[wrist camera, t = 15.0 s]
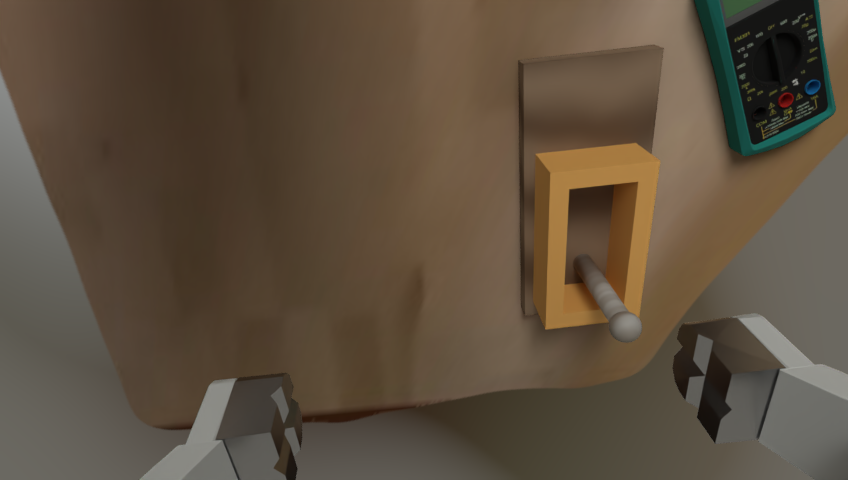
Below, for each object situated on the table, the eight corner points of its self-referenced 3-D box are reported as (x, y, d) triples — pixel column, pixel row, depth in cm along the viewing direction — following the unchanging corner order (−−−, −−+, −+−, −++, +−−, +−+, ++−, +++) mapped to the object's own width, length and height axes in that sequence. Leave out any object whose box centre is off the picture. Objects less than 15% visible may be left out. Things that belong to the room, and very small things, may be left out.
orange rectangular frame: (535, 153, 40) (550, 173, 37) (635, 143, 41) (660, 160, 37) (533, 301, 47) (545, 329, 44) (619, 291, 47) (638, 318, 44)
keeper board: (518, 60, 38) (568, 99, 28) (653, 44, 39) (752, 77, 28) (521, 306, 49) (558, 398, 39) (627, 292, 49) (692, 381, 39)
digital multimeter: (727, 154, 44) (749, 167, 41) (683, -22, 37) (706, -20, 35) (816, 111, 43) (844, 121, 40) (787, -79, 36) (819, -81, 33)
